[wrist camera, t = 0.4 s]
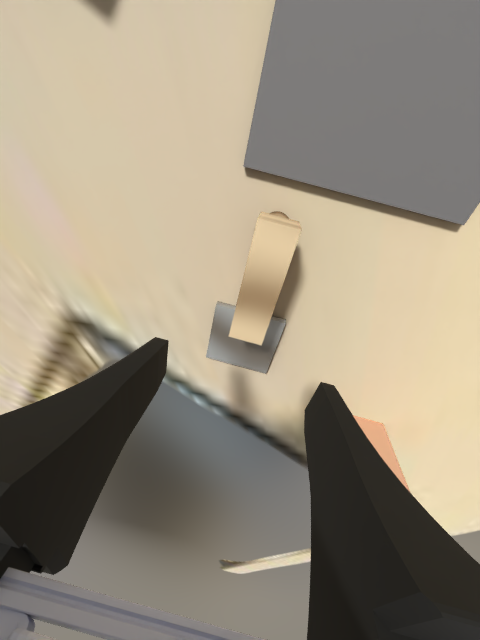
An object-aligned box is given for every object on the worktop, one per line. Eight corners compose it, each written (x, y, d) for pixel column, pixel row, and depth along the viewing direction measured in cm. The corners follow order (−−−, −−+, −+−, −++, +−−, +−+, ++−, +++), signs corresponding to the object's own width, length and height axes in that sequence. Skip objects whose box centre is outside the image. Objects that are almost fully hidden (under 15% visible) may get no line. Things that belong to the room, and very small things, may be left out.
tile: (382, 423, 26) (413, 499, 20) (373, 434, 27) (398, 509, 21) (318, 405, 26) (328, 476, 20) (311, 417, 27) (319, 487, 21)
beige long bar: (237, 200, 17) (224, 209, 13) (323, 223, 17) (334, 239, 13) (207, 353, 24) (194, 386, 20) (266, 369, 24) (263, 405, 20)
